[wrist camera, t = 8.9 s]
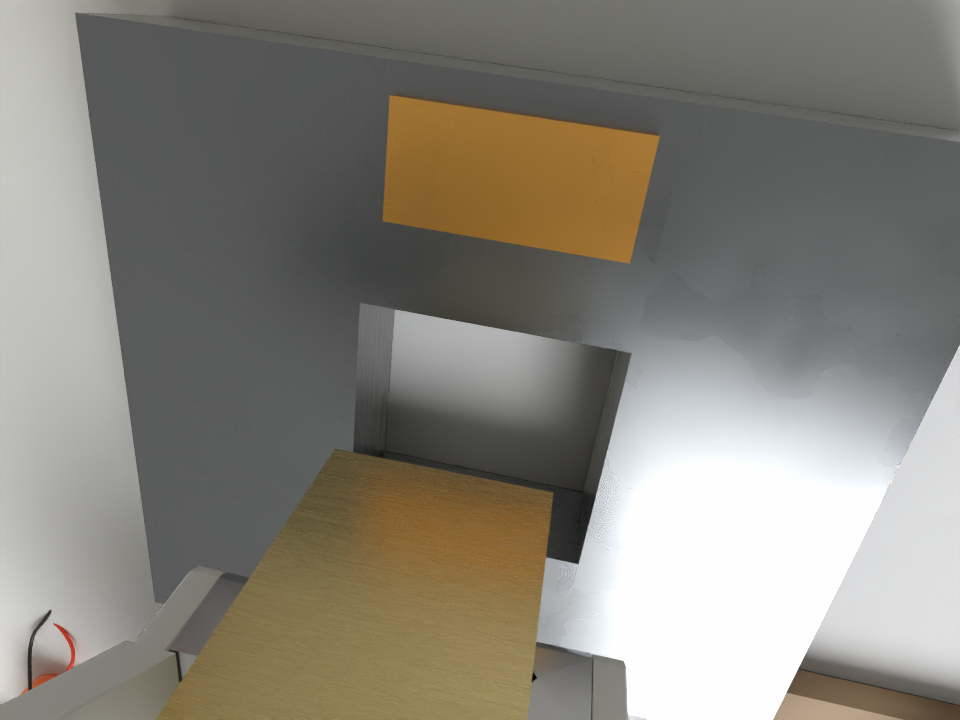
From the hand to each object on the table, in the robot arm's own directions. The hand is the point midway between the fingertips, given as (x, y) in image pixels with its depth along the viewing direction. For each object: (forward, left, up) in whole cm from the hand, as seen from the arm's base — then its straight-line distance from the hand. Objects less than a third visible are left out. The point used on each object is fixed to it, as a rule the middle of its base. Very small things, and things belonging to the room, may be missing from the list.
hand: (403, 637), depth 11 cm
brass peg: (0, 0, -2) cm, 2 cm away
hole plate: (0, 0, -9) cm, 9 cm away
